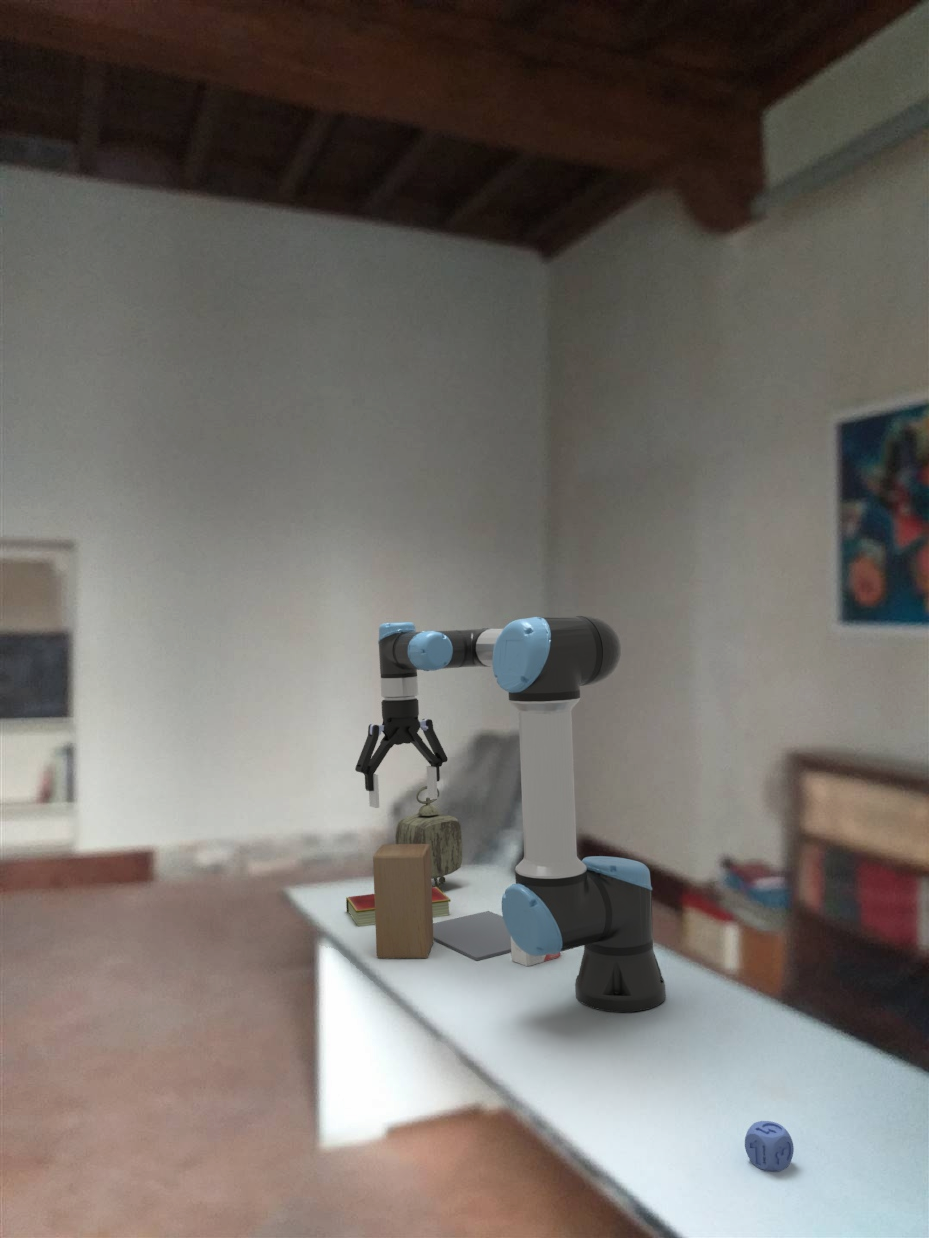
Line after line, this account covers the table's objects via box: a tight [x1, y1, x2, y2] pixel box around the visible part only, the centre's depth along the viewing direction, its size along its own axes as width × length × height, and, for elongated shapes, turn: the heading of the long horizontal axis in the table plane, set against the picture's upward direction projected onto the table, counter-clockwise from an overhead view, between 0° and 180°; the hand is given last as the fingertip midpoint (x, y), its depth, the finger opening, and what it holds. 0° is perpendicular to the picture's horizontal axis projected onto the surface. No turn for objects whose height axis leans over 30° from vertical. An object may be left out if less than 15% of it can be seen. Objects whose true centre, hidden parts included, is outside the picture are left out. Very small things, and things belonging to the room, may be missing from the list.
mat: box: [433, 910, 511, 962], centre depth 208 cm, size 24×19×1 cm
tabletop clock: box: [394, 785, 463, 890], centre depth 245 cm, size 14×9×25 cm, turn 130°
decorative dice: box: [744, 1120, 795, 1172], centre depth 119 cm, size 4×4×4 cm
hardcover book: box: [345, 886, 452, 927], centre depth 226 cm, size 12×21×4 cm, turn 107°
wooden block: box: [372, 843, 435, 959], centre depth 200 cm, size 10×10×20 cm
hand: (404, 802), depth 207 cm, fingers open, 13 cm apart
